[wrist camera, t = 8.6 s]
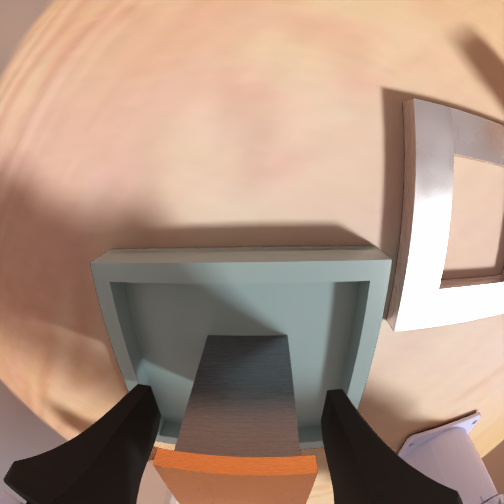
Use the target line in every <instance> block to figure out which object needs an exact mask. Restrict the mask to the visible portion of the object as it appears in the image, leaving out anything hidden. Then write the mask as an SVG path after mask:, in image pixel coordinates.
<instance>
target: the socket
mask: <svg viewBox="0 0 504 504" xmlns="http://www.w3.org/2000/svg"><path fill="white" fill-rule="evenodd" d="M403 117H404V150H405V161H404V195H403V211H402V223H401V233H400V243H399V251H398V259H397V266H396V272H395V279H394V285H393V291H392V296H391V301H390V307H389V312H388V316H387V322H388V324H389V325H390V327H391V328H392V330H393V331H394V332H397V331H405V330H413V329H420V328H427V327H433V326H440V325H446V324H452V323H457V322H463V321H468V320H473V319H478V318H483V317H487V316H492V315H496V314H501V313H504V268H503V272H502V275H494V276H483V277H473V278H461V279H449V280H441V275H442V270H443V264H444V259H445V253H446V247H447V240H448V233H449V225H450V216H451V205H452V191H453V167H454V156H458V157H463V158H467V159H472V160H477V161H481V162H485V163H489V164H493V165H497V166H501V167H504V126H503V125H501V124H498V123H496V122H493V121H490V120H488V119H485V118H482V117H479V116H476V115H473V114H470V113H467V112H464V111H461V110H458V109H454V108H451V107H447V106H444V105H440V104H436V103H432V102H428V101H424V100H419V99H415V98H413V99H410V100H407V101H404V102H403Z"/></svg>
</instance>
